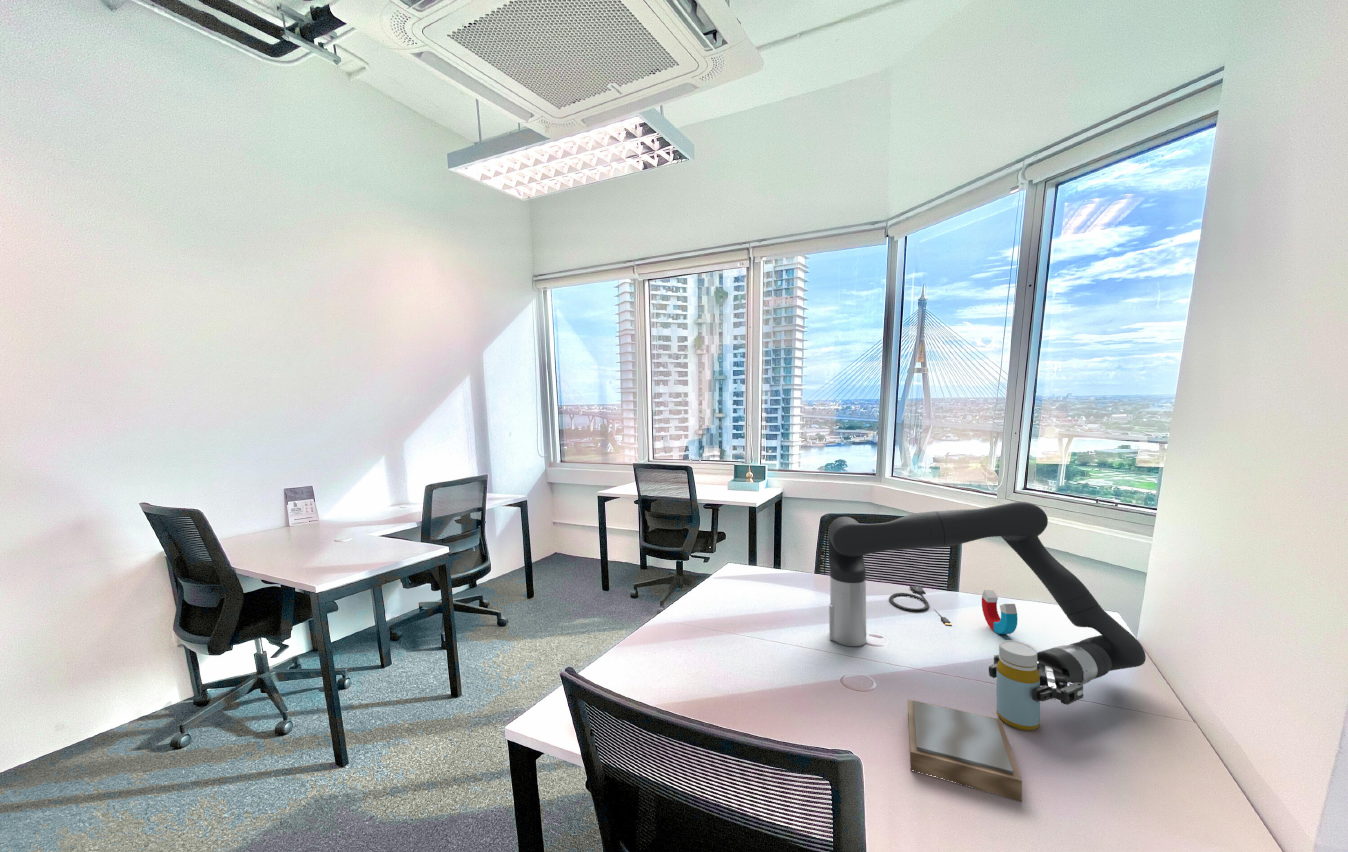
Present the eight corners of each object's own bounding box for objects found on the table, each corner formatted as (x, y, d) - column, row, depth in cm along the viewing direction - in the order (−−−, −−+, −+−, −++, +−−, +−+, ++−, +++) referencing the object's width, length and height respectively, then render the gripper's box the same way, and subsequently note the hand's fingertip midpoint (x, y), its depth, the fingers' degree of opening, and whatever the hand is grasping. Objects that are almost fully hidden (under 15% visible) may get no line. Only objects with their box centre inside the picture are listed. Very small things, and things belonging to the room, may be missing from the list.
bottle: (988, 710, 97) (988, 640, 97) (1019, 707, 98) (1019, 638, 97) (1015, 733, 90) (1015, 658, 90) (1048, 730, 91) (1049, 655, 90)
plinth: (910, 770, 82) (910, 748, 82) (908, 715, 96) (907, 696, 96) (1021, 801, 75) (1021, 777, 75) (1001, 737, 89) (1001, 716, 89)
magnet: (1017, 642, 124) (1018, 605, 124) (1007, 642, 125) (1007, 605, 124) (991, 621, 136) (991, 588, 136) (981, 621, 136) (981, 588, 136)
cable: (901, 624, 137) (901, 619, 137) (880, 587, 165) (880, 583, 165) (952, 627, 134) (952, 622, 134) (921, 589, 162) (921, 585, 162)
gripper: (1029, 634, 105) (977, 648, 100) (1105, 666, 92) (1050, 684, 86) (1029, 666, 106) (977, 682, 100) (1105, 703, 92) (1050, 724, 87)
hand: (1011, 683), depth 93 cm, fingers open, 8 cm apart
